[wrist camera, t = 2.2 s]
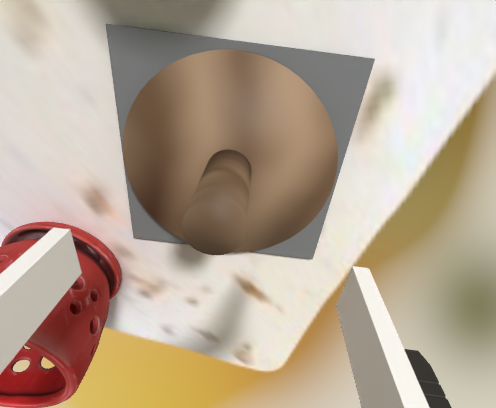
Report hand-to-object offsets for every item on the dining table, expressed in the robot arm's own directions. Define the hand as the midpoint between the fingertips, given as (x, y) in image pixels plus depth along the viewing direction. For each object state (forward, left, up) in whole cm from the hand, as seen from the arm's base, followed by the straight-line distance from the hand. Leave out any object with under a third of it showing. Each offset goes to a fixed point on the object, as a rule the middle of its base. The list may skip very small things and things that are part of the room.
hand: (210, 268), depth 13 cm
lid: (0, 0, -12) cm, 12 cm away
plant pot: (-16, -13, -12) cm, 24 cm away
